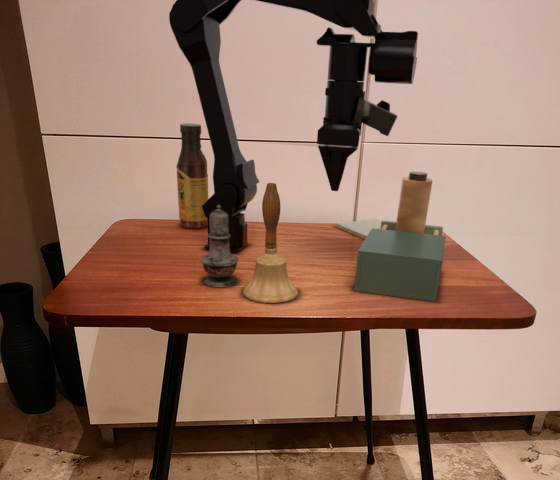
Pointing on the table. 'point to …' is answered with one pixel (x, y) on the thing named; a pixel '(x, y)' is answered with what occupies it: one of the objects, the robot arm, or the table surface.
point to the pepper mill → (413, 203)
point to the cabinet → (400, 264)
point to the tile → (360, 227)
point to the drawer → (428, 230)
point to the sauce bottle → (192, 178)
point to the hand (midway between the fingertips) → (336, 185)
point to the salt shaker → (219, 252)
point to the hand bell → (270, 259)
